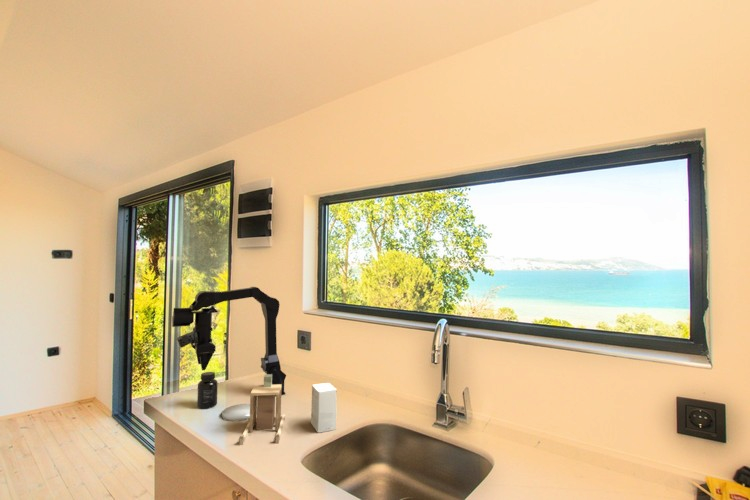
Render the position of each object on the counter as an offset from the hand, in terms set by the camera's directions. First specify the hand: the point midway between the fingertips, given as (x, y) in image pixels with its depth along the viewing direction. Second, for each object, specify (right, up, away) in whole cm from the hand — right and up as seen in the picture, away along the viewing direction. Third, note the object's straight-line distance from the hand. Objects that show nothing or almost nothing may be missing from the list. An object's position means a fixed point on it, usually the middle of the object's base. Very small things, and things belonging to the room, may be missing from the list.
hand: (201, 367), depth 137 cm
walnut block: (+28, -15, -16) cm, 36 cm away
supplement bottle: (+2, -15, +1) cm, 15 cm away
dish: (+17, -15, -6) cm, 23 cm away
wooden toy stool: (+28, -15, -16) cm, 36 cm away
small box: (+48, -15, -15) cm, 52 cm away
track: (+29, -15, -19) cm, 37 cm away
